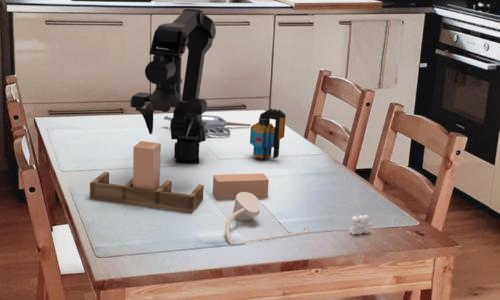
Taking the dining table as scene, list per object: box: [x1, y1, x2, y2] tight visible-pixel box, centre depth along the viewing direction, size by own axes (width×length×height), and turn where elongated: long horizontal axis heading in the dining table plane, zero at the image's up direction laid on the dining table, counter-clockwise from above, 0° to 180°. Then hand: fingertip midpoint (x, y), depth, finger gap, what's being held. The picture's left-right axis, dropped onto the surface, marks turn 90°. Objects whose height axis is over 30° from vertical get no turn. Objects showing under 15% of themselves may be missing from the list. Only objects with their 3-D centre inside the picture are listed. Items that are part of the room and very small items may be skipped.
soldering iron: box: [163, 114, 252, 139], centre depth 257 cm, size 6×28×16 cm
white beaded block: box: [349, 214, 373, 236], centre depth 187 cm, size 5×1×4 cm, turn 115°
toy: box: [249, 108, 286, 161], centre depth 234 cm, size 10×10×15 cm
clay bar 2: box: [212, 172, 270, 201], centre depth 206 cm, size 13×5×5 cm, turn 104°
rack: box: [89, 171, 204, 214], centre depth 200 cm, size 9×26×4 cm, turn 77°
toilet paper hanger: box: [224, 192, 310, 244], centre depth 188 cm, size 20×5×16 cm
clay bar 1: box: [132, 140, 162, 190], centre depth 198 cm, size 5×5×13 cm
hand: (167, 136), depth 210 cm, fingers open, 9 cm apart
